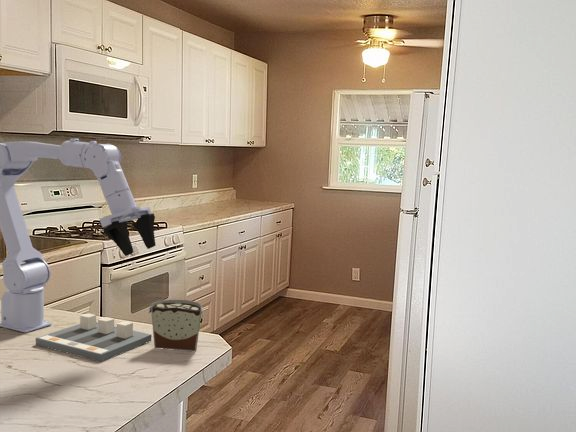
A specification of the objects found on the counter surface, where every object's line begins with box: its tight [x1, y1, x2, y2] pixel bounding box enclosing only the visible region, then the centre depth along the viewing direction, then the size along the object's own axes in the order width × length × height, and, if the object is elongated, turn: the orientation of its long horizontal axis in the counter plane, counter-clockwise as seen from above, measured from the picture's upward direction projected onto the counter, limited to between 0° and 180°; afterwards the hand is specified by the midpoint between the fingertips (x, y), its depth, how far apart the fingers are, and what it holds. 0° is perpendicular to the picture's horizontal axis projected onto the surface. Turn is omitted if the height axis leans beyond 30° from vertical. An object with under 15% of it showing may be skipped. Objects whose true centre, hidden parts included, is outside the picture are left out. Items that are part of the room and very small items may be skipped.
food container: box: [148, 299, 205, 353], centre depth 134 cm, size 12×6×10 cm, turn 84°
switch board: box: [35, 321, 153, 363], centre depth 133 cm, size 19×16×2 cm
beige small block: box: [79, 312, 97, 330], centre depth 138 cm, size 2×2×3 cm
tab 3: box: [116, 320, 134, 339], centre depth 134 cm, size 2×2×3 cm
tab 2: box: [97, 316, 115, 334], centre depth 136 cm, size 2×2×3 cm
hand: (140, 250), depth 132 cm, fingers open, 7 cm apart
